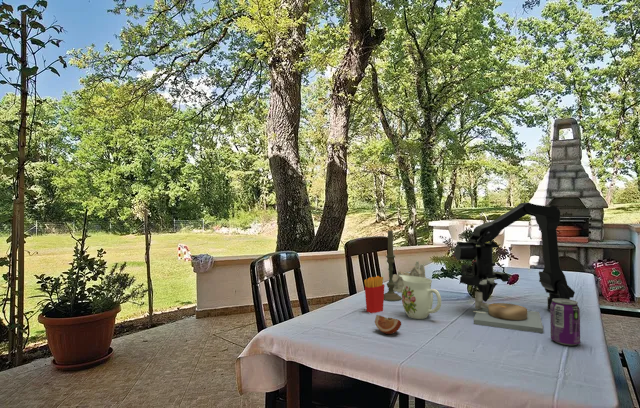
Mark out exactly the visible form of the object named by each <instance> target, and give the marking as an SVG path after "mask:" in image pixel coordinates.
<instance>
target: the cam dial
mask: <svg viewBox="0 0 640 408" xmlns="http://www.w3.org/2000/svg"><path fill="white" fill-rule="evenodd" d="M474 304H475V305H474V306H475V307H474V309H475V310H477V309H483V308H487V309H488V313H489V314H490V315H491V316H494V317H497V318H501V319H507V320H524V319H527V311H528V308H526V307H524V306H522V305H520V304H519V305H518V304H513V303H508V302H507V303H505V302H497V303H496V302H493V303H487V302H484V301H483V297H482V292H480V291H479V290H478V291H477V290H476V291H475V292H474Z"/></svg>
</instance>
